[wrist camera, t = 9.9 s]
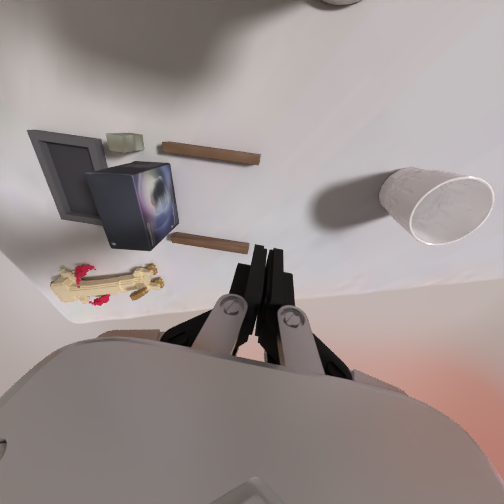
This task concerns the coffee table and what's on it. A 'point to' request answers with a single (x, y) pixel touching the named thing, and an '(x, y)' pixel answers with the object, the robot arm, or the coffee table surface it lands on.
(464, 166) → the coffee table surface
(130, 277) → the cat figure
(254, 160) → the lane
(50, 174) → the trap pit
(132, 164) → the small box
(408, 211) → the white cup
